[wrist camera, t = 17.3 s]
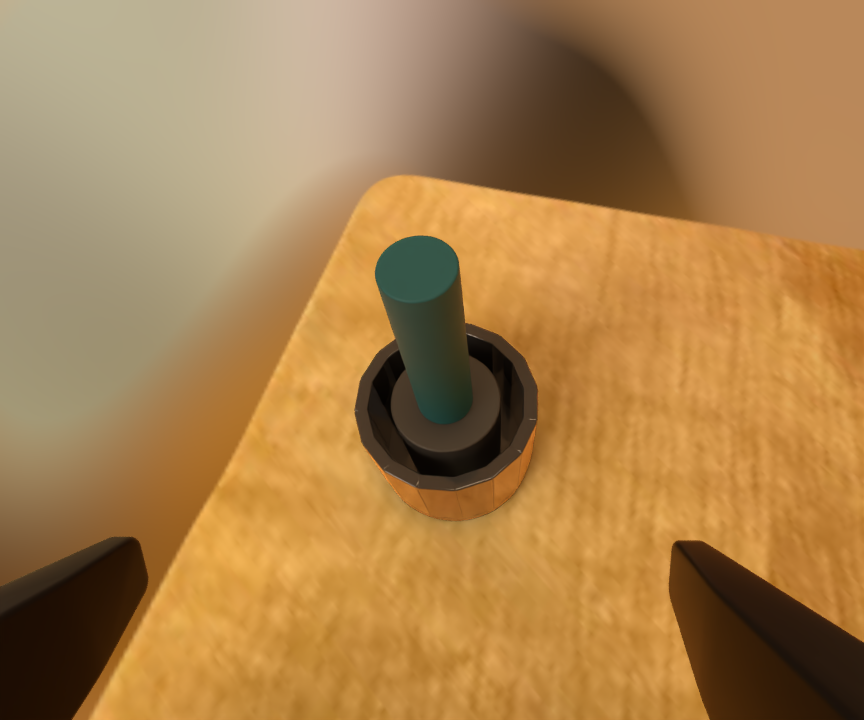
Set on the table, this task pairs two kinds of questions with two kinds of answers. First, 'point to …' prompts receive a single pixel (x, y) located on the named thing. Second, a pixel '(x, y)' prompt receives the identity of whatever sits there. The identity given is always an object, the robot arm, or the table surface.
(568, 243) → the table surface
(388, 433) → the tumbler
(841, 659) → the robot arm
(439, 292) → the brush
